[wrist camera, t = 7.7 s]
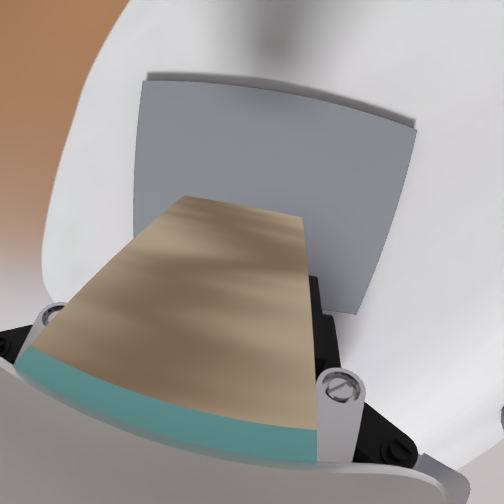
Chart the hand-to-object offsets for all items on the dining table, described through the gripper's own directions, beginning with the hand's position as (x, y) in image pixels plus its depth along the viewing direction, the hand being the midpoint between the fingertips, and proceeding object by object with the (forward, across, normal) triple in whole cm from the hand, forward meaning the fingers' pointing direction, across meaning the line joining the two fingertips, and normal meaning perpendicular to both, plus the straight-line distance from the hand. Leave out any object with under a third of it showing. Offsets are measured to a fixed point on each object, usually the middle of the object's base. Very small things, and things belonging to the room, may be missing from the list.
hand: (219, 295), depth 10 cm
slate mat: (+12, 0, 0) cm, 12 cm away
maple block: (+3, 0, 0) cm, 3 cm away
